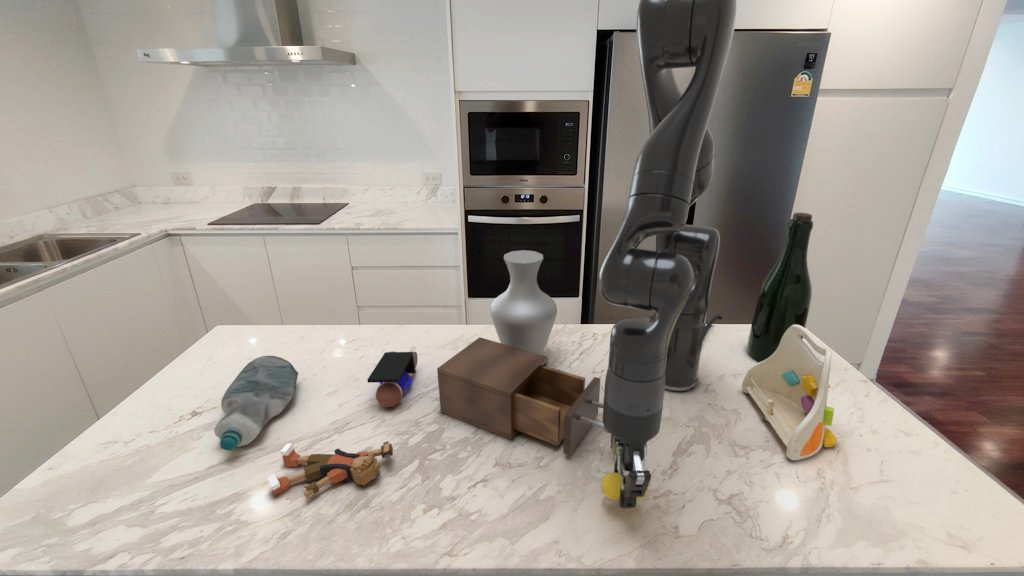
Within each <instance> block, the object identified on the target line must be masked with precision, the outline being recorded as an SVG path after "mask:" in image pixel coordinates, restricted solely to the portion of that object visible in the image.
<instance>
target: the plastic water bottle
mask: <svg viewBox="0 0 1024 576" xmlns="http://www.w3.org/2000/svg"><path fill="white" fill-rule="evenodd" d="M298 376H299V372H298V371H297V370H296V368H295V367H294V365H293V364H292V363H291V362H290V361H289V360H287V359H284V358H283V357H279V356H276V355H261V356H258V357H256V358H254V359H253V360H251V361H249V362H248V363H246V365H245V366H244V367H243V368H242V369H241V371H240V372H239V373H238V374H237V375H236V377H235V378H234V380H233V381H232V382H231V383H230V385H229V386H228V387H227V388H226V390H225V391H224V394H223V396H222V398H221V402H220V406H221V410H222V411H223V412H224V413H225V416H223V417H222V418H221V419H219V421H218V423H217V424H215V427H214V429H213V432H214V435H215V436H216V437H217V438H218V439H219V440H220V441H219V446H220V448H221V449H223V450H224V451H233V450H234V449H235V448H237V447H244V446H245V447H246V446H248V445H249V444H250V443H252V442H253V441H254V440H255V439H256V438H257V437H258V435H259V434H260V433H261V431H262V430H263V429H264V427H265V425H266V424H267V423H268V422H269V421H270V420H271V419H273V418H274V417H276V416H278V415H279V414H281V413H282V412H283V411H284V410H285V408H286V407H287V406H288V405H289V403H290V402H291V400H292V399H293V398H294V397H295V394H296V387H297V382H298V378H299V377H298Z"/></svg>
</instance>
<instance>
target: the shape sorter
mask: <svg viewBox="0 0 1024 576" xmlns="http://www.w3.org/2000/svg"><path fill="white" fill-rule="evenodd" d="M801 336H802V337H803V340H802V339H801ZM804 340H805V341H806V342H807V343H808V344H809V345H808V344H807V343H806V342H805V341H804ZM809 346H810V347H811V348H812V349H813V350H814V351H815V352H816V353H818V355H821V356H823V357H824V360H823V361H822V360H820V359H819V358H818V357H817V356H816V355H815V353H814V352H813V350H812V349H811V348H810V347H809ZM832 354H833V353H832V350H831V349H830V348H828V347H827V346H825V345H823V344H822V343H820V342H819V341H818V339H817V338H816V337H815V336H814V335H813V334H812V333H811V332H810V331H809V330H808V329H807V328H806V327H805V328H804V327H802V326H800V325H792V326H791V327H789V328H788V329H787V331H786V332H785V333H784V335H783V337H782V339H781V341H780V344H779V346H778V348H777V350H776V351H775V352H774V353H773V354H772V355H771V356H770V357H769V358H767V359H766V360H764V361H762V362H761V361H759V362H758V363H757V362H756V364H754V365H753V366H752V367H750V368H749V369H748V371H747V372H746V373H745V375H744V377H743V379H742V383H741V389H742V391H743V393H745V394H747V395H750V397H751V398H752V400H753V401H754V402H755V403H756V405H757V407H758V408H759V410H760V411H761V412H762V415H764V419H765V421H767V422H769V423H768V424H770V425H771V427H772V429H773V430H774V431H775V433H776V434H777V435H778V437H779V438H780V440H781V442H782V443H783V445H784V446H785V447H786V450H785V455H786V457H787V458H788V459H789V460H790V461H799V460H804V459H807V458H810V457H812V456H814V455H816V454H817V453H818V452H819V451H820V450H821V449H822V448H823V447H825V448H832V447H834V446H836V444H837V436H836V434H835V433H834V432H833V431H832V430H830V429H829V428H826V426H829V427H832V425H833V419H834V413H835V408H834V407H832V406H827V404H828V395H829V388H831V384H830V374H831V364H832Z"/></svg>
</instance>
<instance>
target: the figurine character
mask: <svg viewBox="0 0 1024 576" xmlns="http://www.w3.org/2000/svg"><path fill="white" fill-rule="evenodd" d="M418 359H419V357H418V353H417V351H386V352H384V353H383V355H382V356H381V358H380V359H379V361H378V363H377V364H376V365H375V367H374V369H373V370H372V371H371V373H370V374H369V376H368V377H367V380H366V381H367V383H379V384H380V385H379V386H378V387H377V389H376V391H375V399H376V402H377V403H378V404H379V405H380V406H382V407H383V408H393V407H395V406H396V405H398V404H399V403H400V402H401V400H402V398H403V391H405V390H407V387H409V386H410V385H411V384H412V383H413V376H414V375H413V374H416V368H417V366H418V362H419V361H418Z"/></svg>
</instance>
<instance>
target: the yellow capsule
mask: <svg viewBox="0 0 1024 576" xmlns="http://www.w3.org/2000/svg"><path fill="white" fill-rule="evenodd" d="M627 477H628V476H627ZM627 477H626V480H627ZM620 480H621V476H620V475H619V473H614V472H610V473H607V474H606V475H605V476H603V478H602V480H601V486H600V487H601V491H602V493H603V494H604V496H605V497H607V498H608V499H609V500H613V501H619V497H620ZM648 491H649V486H648V487H647V490H646V492H645V494H644V497H645V496H647V494H648ZM644 497H637V499H636V501H637V500H641V499H643V498H644Z"/></svg>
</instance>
